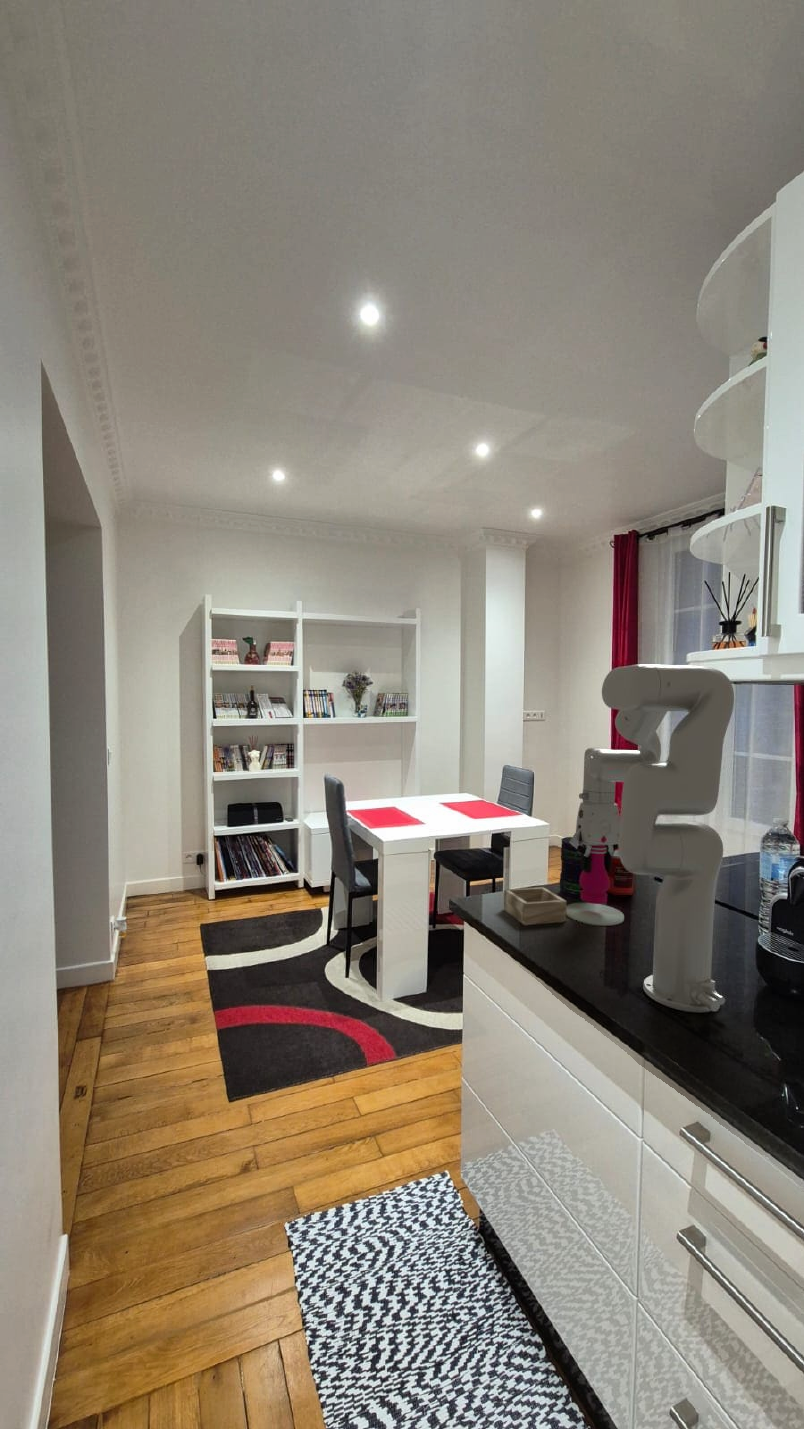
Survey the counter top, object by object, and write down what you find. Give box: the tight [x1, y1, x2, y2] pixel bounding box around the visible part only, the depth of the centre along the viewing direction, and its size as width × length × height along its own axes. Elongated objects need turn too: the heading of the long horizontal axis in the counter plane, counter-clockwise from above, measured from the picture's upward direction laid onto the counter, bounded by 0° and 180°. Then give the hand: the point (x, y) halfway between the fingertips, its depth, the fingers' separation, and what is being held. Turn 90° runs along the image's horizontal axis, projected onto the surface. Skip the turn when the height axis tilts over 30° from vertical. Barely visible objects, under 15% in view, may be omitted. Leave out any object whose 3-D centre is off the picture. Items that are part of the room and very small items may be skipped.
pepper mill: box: [579, 836, 610, 905], centre depth 150 cm, size 7×7×20 cm
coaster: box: [566, 902, 625, 927], centre depth 151 cm, size 14×14×1 cm
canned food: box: [605, 849, 635, 896], centre depth 170 cm, size 8×8×11 cm
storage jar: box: [559, 836, 583, 901], centre depth 166 cm, size 10×10×15 cm
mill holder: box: [503, 886, 567, 926], centre depth 149 cm, size 11×11×5 cm
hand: (595, 869), depth 150 cm, fingers closed on pepper mill, 5 cm apart
